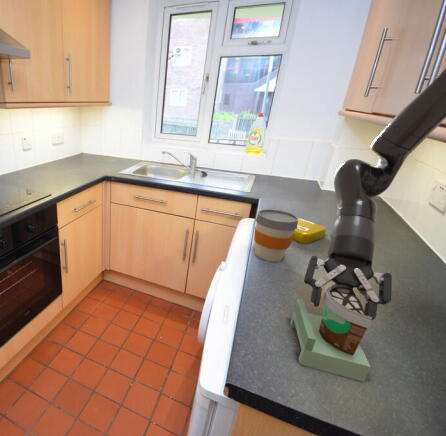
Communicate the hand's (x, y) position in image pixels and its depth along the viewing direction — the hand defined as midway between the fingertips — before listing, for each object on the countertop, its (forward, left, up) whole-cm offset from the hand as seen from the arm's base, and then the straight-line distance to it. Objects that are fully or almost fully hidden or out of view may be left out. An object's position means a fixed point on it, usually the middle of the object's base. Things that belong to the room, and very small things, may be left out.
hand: (340, 313), depth 60 cm
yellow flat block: (-5, -69, -11) cm, 70 cm away
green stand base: (0, -1, -11) cm, 11 cm away
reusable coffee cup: (+8, -44, -11) cm, 46 cm away
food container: (0, -1, -7) cm, 7 cm away
